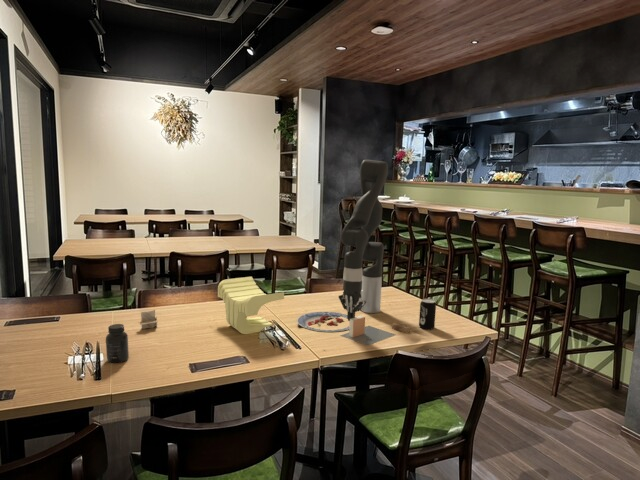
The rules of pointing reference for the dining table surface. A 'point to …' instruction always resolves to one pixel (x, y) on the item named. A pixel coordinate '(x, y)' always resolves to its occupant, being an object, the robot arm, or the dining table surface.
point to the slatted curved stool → (245, 303)
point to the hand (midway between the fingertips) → (351, 320)
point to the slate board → (370, 336)
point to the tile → (357, 326)
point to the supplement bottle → (117, 344)
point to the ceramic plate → (321, 320)
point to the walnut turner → (401, 327)
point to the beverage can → (427, 314)
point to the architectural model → (148, 319)
